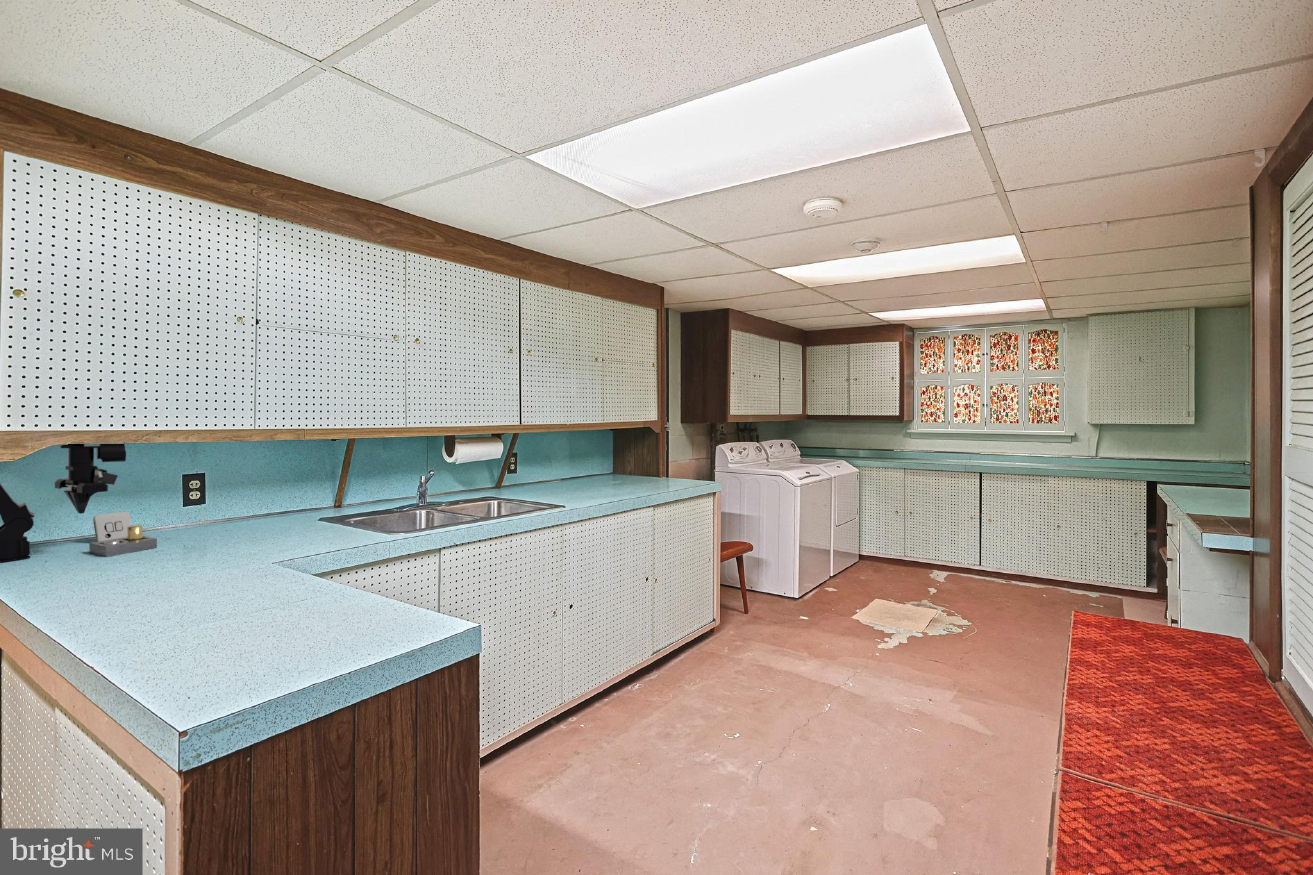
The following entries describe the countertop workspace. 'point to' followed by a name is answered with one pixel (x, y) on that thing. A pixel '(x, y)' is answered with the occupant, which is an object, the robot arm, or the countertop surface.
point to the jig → (122, 546)
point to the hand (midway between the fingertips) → (81, 513)
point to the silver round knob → (111, 542)
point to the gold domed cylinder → (134, 533)
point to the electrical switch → (111, 525)
